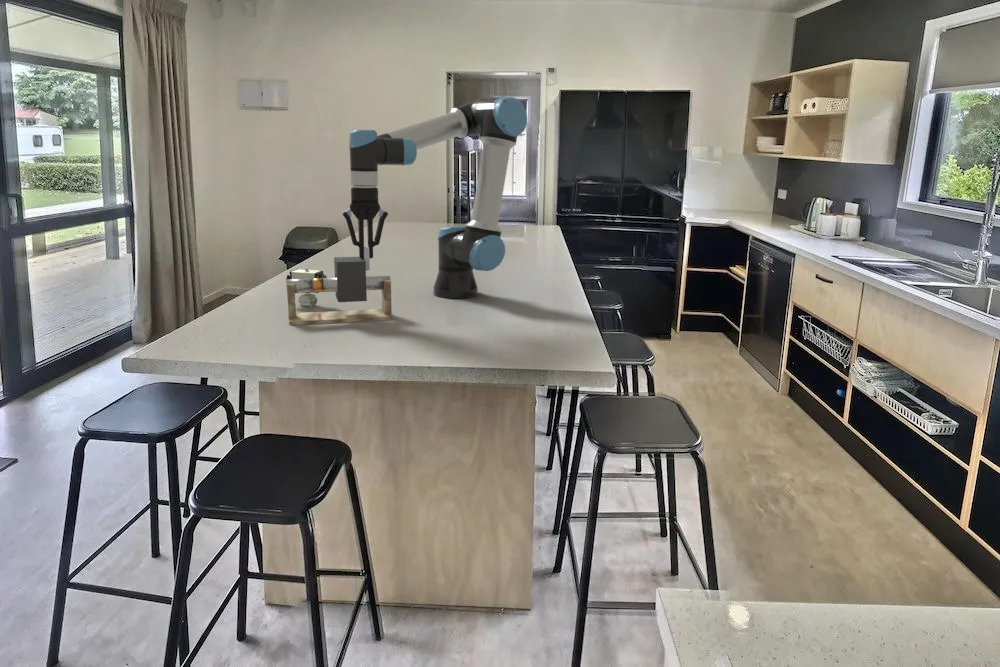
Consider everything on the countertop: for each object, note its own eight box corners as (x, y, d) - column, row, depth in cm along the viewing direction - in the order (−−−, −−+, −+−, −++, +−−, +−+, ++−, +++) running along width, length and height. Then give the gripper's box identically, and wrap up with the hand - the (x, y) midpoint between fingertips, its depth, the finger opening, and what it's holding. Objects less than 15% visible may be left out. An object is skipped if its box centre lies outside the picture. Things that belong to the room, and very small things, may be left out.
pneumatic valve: (322, 308, 219) (320, 269, 216) (287, 306, 222) (285, 267, 219) (330, 304, 225) (328, 267, 222) (295, 302, 227) (293, 264, 224)
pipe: (388, 287, 212) (388, 274, 211) (390, 290, 208) (390, 277, 207) (287, 291, 204) (286, 278, 202) (287, 294, 200) (286, 280, 199)
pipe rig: (387, 311, 217) (386, 276, 214) (393, 319, 208) (392, 282, 205) (288, 316, 208) (286, 279, 206) (289, 325, 199) (287, 286, 196)
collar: (363, 294, 213) (361, 256, 210) (366, 301, 205) (365, 261, 202) (335, 296, 210) (334, 257, 207) (338, 302, 202) (336, 262, 199)
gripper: (385, 185, 206) (387, 266, 212) (339, 185, 202) (342, 268, 208) (389, 187, 199) (391, 271, 205) (342, 187, 195) (345, 272, 201)
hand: (366, 269), depth 207 cm, fingers closed
